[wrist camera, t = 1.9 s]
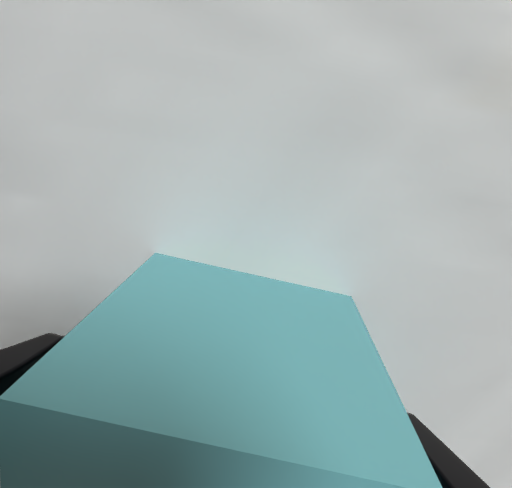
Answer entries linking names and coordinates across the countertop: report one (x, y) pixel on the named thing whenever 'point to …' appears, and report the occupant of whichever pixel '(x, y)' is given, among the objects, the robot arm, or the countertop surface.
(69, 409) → the teal cube
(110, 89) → the countertop surface
